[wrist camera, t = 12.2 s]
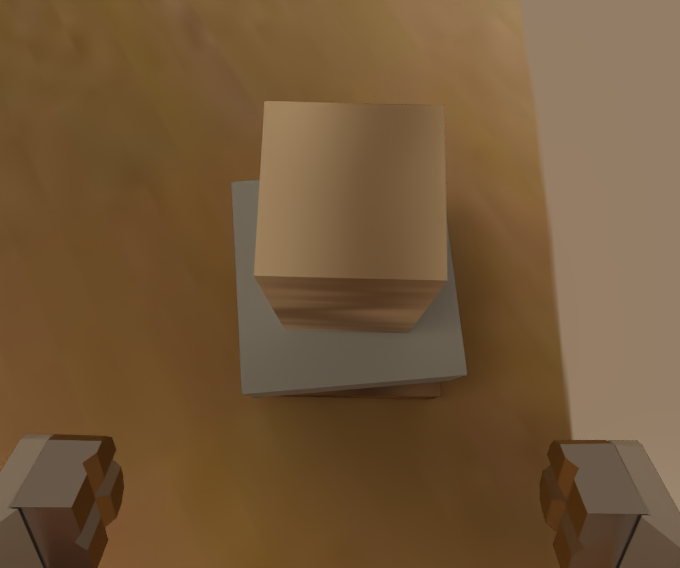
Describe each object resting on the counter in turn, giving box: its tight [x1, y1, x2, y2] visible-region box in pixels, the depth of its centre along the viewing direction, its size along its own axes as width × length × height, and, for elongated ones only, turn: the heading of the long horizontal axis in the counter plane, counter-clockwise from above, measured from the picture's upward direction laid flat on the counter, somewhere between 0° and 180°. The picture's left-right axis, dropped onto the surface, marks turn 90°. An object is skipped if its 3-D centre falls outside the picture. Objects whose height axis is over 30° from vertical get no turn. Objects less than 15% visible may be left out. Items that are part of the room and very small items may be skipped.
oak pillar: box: [254, 101, 447, 333], centre depth 20 cm, size 5×5×9 cm
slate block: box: [231, 180, 467, 398], centre depth 27 cm, size 9×9×4 cm
